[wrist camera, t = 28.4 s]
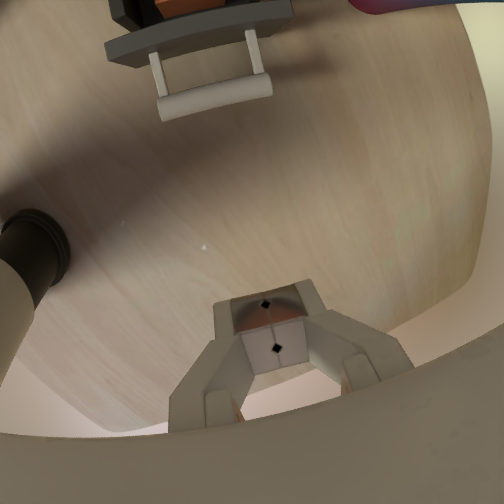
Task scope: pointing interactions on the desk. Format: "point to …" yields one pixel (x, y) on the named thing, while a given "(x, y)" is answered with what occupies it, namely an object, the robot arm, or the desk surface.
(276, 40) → the desk surface
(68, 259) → the light fixture
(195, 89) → the drawer
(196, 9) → the block
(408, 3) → the cup
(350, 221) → the desk surface
